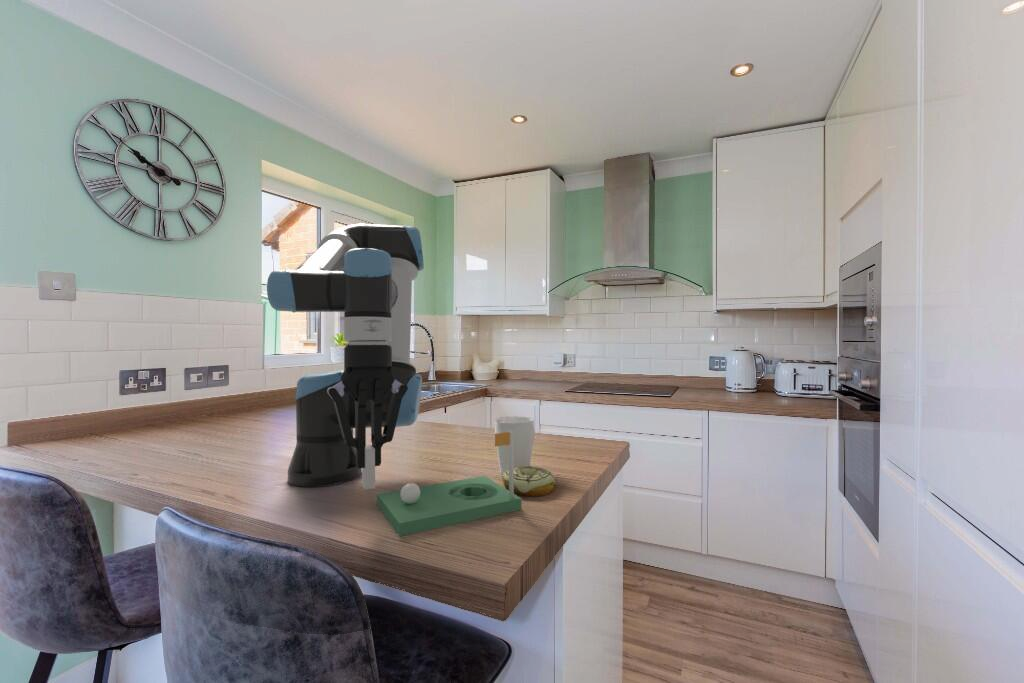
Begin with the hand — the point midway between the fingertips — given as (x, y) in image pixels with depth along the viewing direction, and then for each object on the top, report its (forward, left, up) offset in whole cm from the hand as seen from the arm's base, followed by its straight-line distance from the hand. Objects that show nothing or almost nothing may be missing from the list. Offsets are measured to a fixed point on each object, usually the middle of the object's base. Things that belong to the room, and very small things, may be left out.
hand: (368, 486), depth 75 cm
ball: (0, +7, -3) cm, 8 cm away
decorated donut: (-2, +32, -7) cm, 33 cm away
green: (0, +14, -6) cm, 15 cm away
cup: (-13, +35, -6) cm, 38 cm away
